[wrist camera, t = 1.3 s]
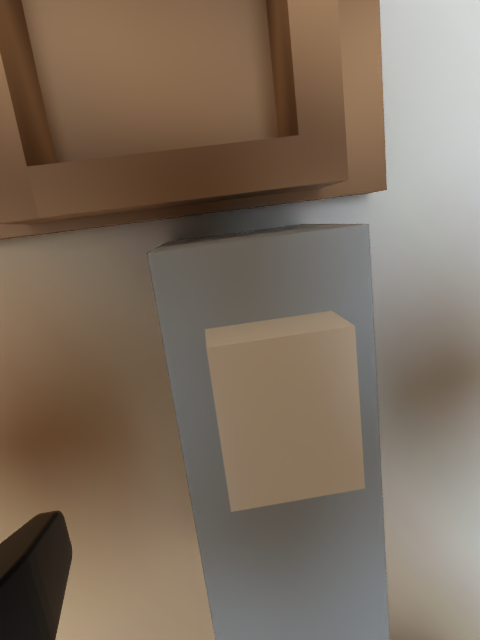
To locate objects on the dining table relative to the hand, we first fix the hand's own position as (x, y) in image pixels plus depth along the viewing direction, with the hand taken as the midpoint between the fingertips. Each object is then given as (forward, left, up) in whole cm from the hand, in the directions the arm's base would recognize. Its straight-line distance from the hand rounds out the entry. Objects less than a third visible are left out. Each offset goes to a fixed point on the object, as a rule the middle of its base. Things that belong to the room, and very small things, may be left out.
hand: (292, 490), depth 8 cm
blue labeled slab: (0, 0, -5) cm, 5 cm away
